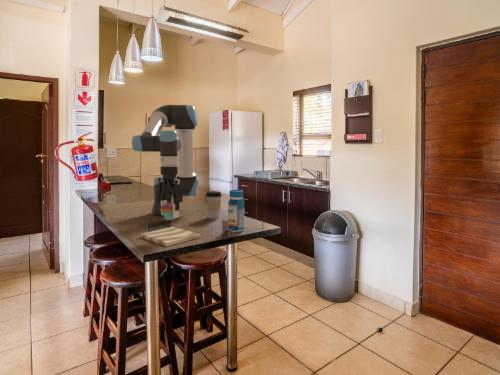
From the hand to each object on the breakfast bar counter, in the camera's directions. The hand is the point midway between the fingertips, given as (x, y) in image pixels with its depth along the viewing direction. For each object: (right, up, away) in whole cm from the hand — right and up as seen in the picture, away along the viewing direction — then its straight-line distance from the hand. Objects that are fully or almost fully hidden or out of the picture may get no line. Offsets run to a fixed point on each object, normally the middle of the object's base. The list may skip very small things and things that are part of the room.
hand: (170, 215), depth 147 cm
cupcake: (0, -1, 0) cm, 2 cm away
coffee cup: (+15, -5, +42) cm, 45 cm away
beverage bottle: (+29, -9, +16) cm, 34 cm away
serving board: (0, -10, +1) cm, 10 cm away
